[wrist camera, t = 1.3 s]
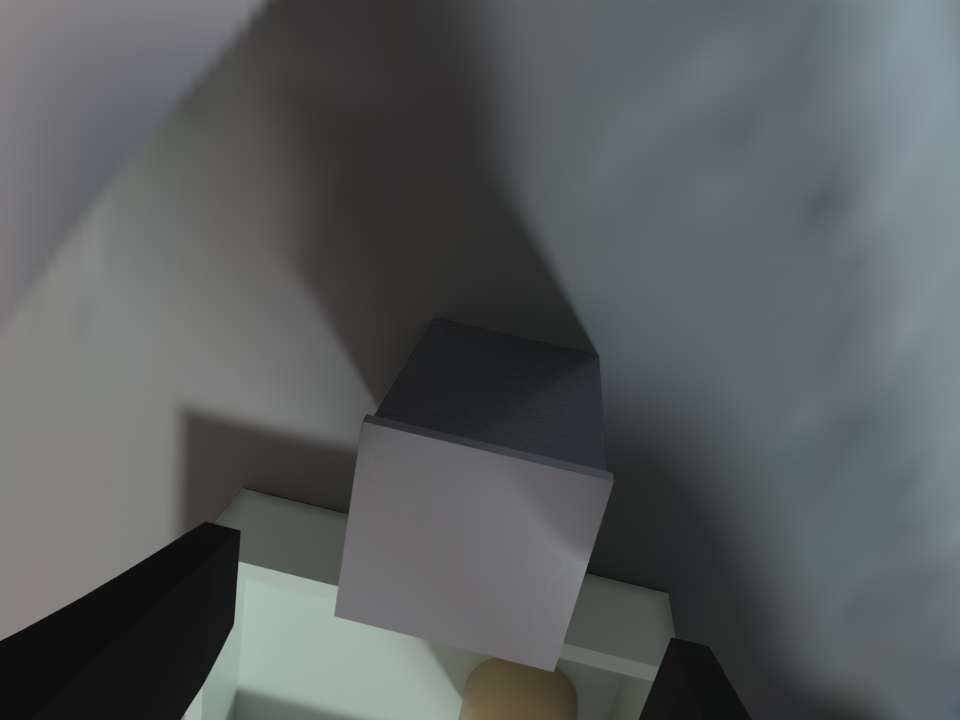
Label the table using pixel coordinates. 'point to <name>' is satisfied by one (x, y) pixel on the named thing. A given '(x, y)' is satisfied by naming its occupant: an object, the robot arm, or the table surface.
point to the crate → (391, 637)
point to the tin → (478, 495)
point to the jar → (517, 693)
